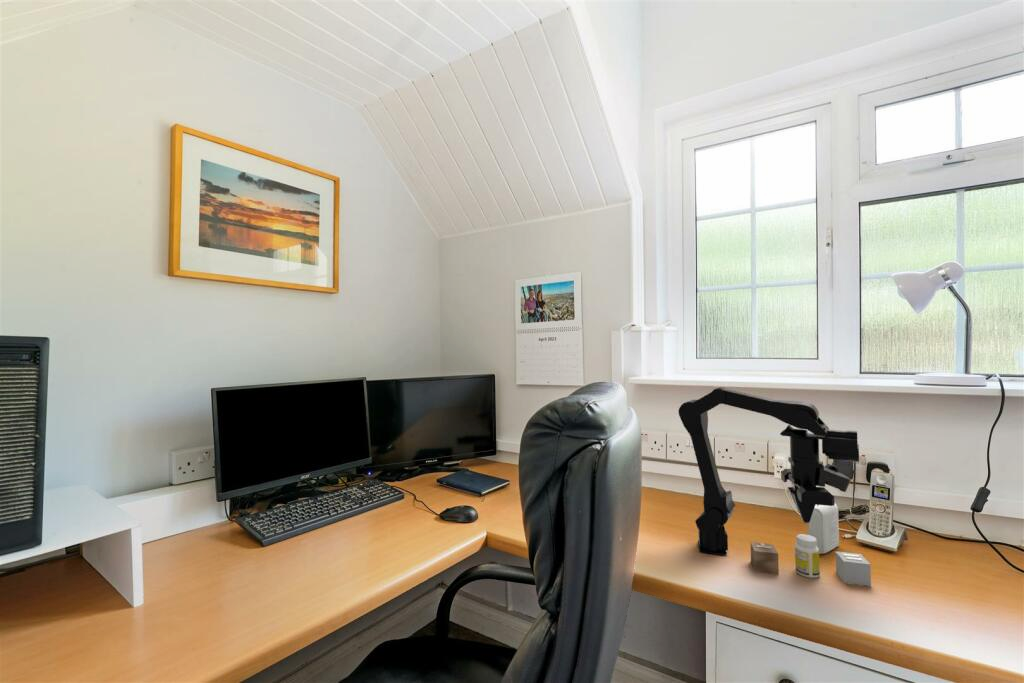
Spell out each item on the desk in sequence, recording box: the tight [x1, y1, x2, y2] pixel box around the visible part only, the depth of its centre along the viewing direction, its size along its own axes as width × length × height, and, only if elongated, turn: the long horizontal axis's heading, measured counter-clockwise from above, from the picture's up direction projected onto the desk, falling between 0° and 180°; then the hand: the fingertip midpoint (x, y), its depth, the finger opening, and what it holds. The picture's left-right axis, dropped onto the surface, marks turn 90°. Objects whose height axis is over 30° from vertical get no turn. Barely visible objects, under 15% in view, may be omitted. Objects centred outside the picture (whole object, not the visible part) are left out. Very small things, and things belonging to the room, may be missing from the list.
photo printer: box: [807, 502, 840, 555], centre depth 117 cm, size 10×4×12 cm, turn 123°
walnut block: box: [749, 541, 780, 575], centre depth 108 cm, size 5×5×5 cm
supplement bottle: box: [794, 533, 821, 579], centre depth 105 cm, size 5×5×8 cm
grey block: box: [835, 551, 872, 587], centre depth 102 cm, size 5×5×5 cm
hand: (806, 522), depth 105 cm, fingers closed
